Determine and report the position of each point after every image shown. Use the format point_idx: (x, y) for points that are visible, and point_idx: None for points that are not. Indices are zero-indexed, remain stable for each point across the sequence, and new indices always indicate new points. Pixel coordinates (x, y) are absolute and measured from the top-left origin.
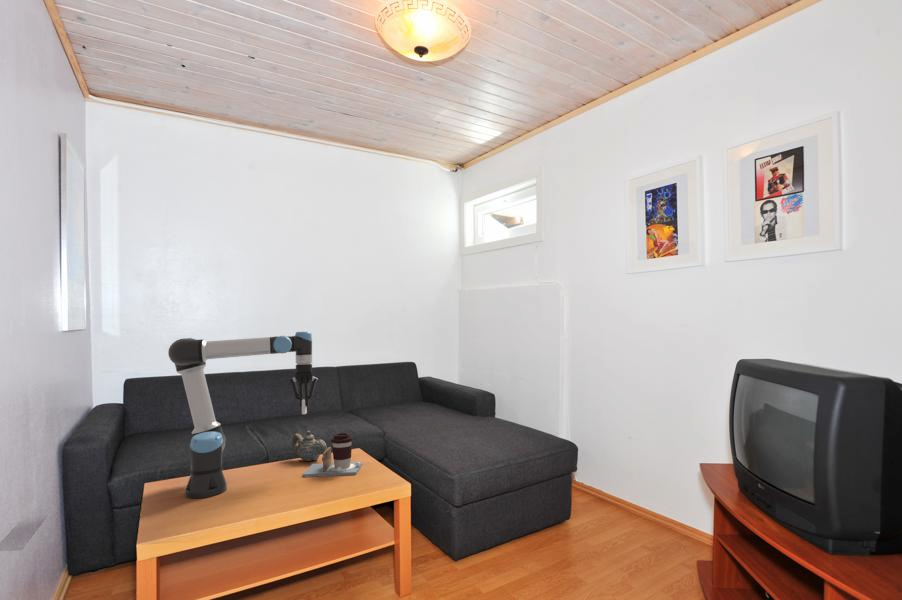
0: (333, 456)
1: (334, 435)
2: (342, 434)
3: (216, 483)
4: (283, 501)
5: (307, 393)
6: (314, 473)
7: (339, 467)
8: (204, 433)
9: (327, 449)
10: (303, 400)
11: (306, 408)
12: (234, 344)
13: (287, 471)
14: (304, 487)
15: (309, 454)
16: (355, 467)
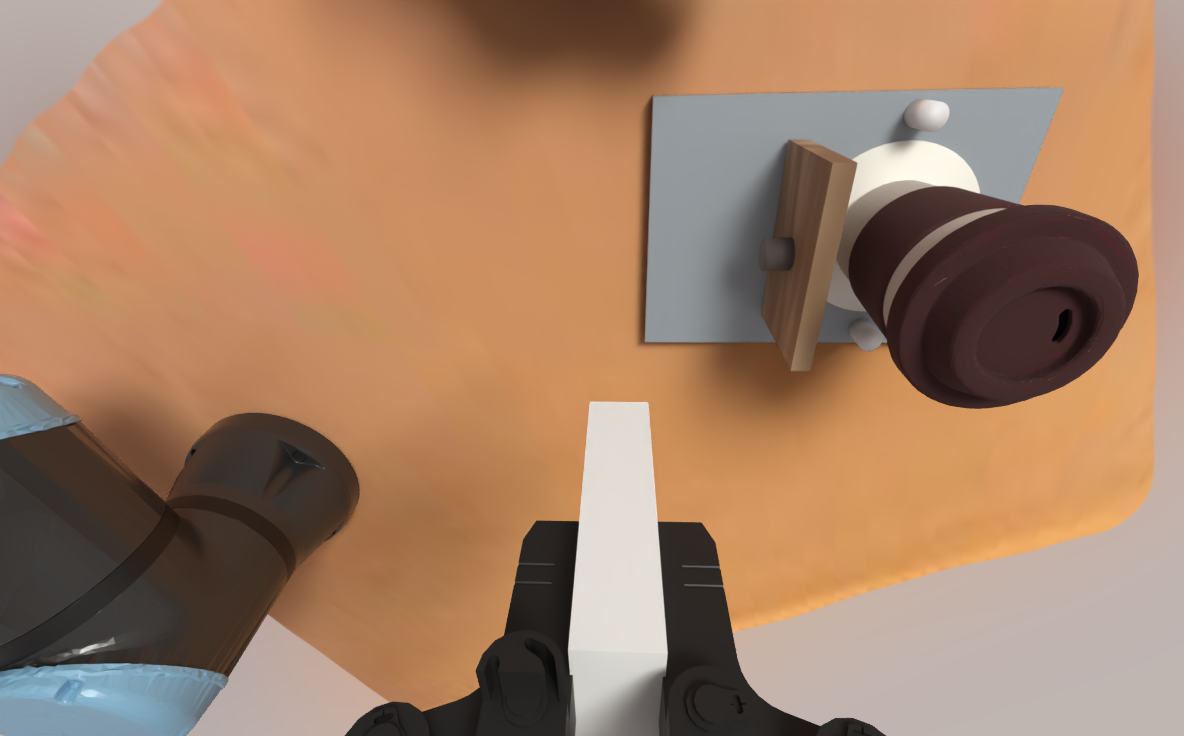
0: (856, 293)
1: (949, 349)
2: (1047, 283)
3: (328, 536)
4: None
5: None
6: (712, 335)
7: (873, 341)
8: (7, 715)
9: (823, 262)
10: (618, 733)
11: (652, 471)
12: None
13: (507, 206)
14: (692, 475)
15: None
16: None
